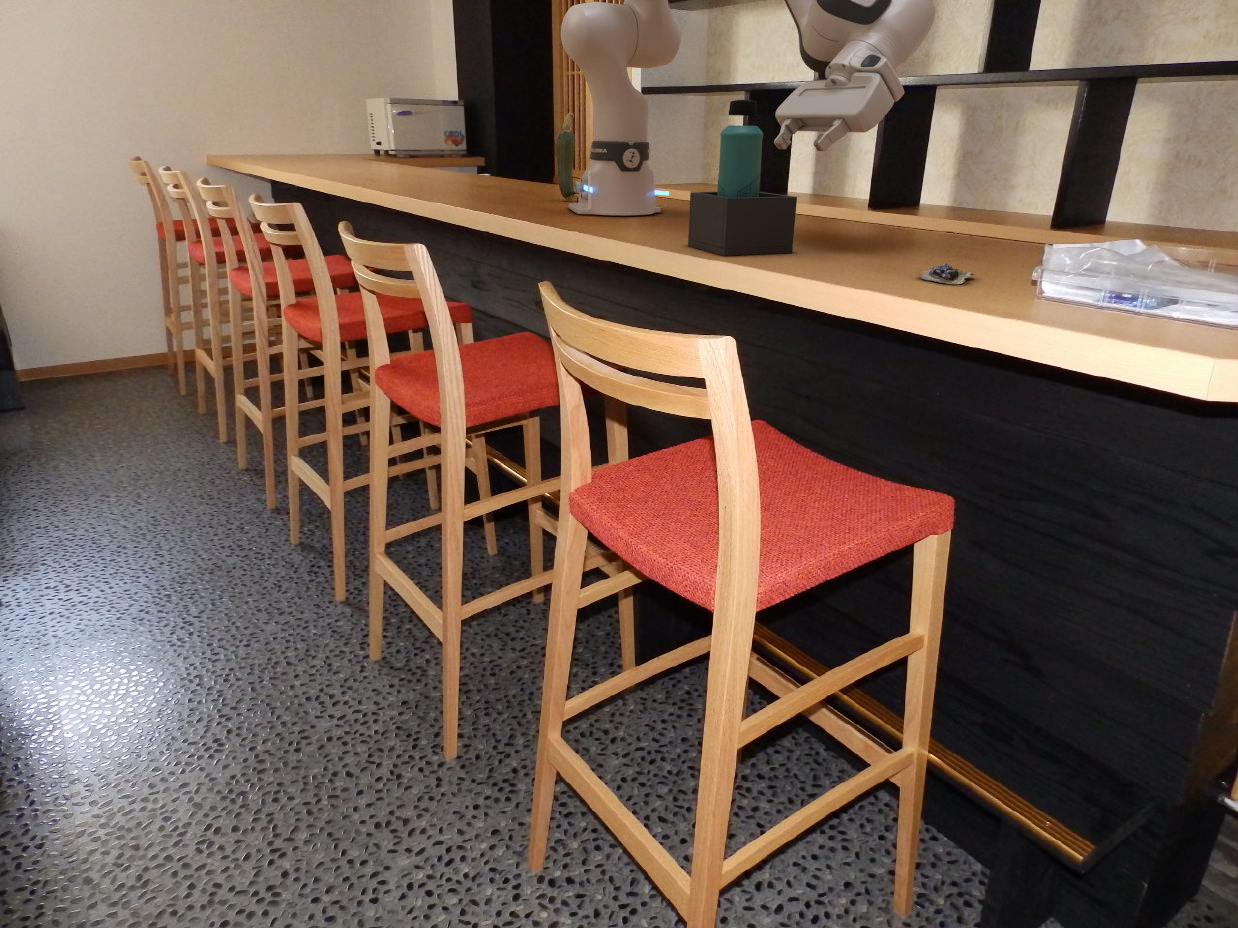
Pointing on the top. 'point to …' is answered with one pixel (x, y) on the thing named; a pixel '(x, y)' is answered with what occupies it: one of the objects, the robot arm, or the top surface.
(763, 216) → the box
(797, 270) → the top surface
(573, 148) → the vegetable
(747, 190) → the beverage bottle
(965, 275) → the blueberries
